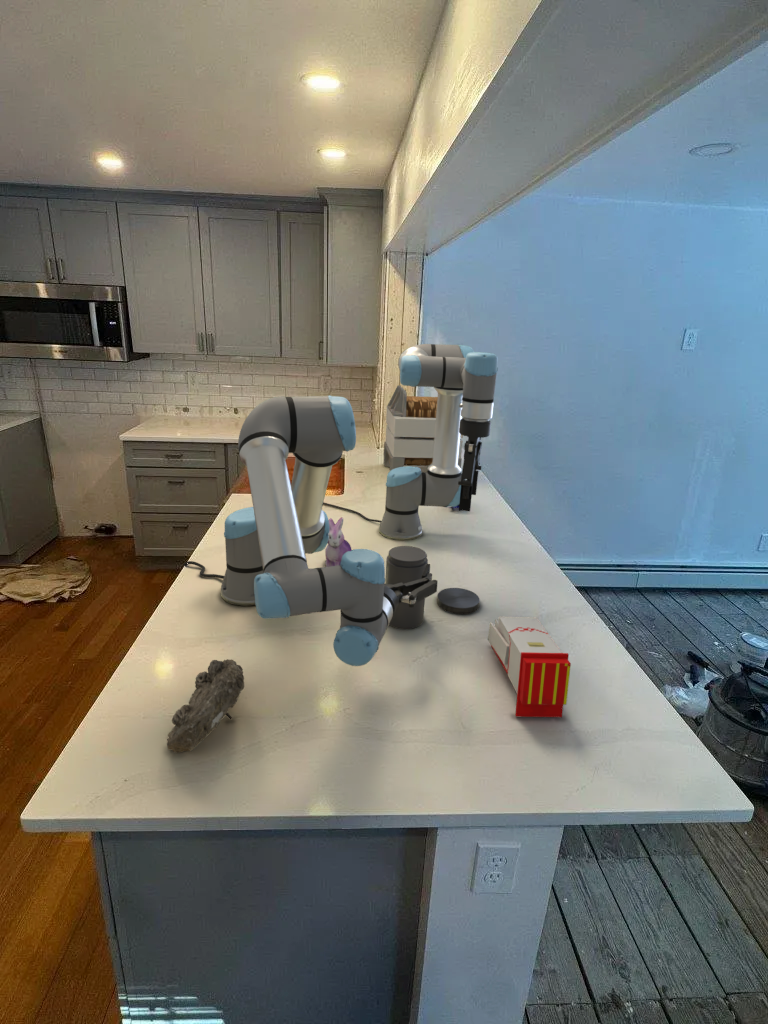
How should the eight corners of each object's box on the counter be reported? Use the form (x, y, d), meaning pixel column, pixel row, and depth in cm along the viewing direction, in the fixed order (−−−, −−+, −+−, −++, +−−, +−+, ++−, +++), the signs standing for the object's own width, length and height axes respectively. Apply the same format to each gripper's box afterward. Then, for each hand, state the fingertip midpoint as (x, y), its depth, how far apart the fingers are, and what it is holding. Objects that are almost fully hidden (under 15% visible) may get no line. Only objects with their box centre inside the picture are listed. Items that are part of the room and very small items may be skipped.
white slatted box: (382, 463, 289) (386, 382, 275) (445, 464, 293) (451, 384, 279) (390, 482, 257) (394, 392, 243) (460, 483, 261) (468, 394, 247)
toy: (534, 602, 136) (579, 659, 107) (529, 653, 139) (572, 723, 110) (484, 601, 136) (516, 658, 107) (480, 652, 139) (510, 722, 109)
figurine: (330, 573, 167) (330, 526, 162) (317, 560, 176) (317, 515, 171) (359, 568, 172) (360, 522, 167) (345, 555, 180) (346, 511, 175)
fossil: (192, 660, 117) (244, 628, 112) (224, 691, 120) (276, 661, 115) (142, 746, 98) (202, 712, 93) (182, 779, 101) (242, 748, 96)
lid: (440, 590, 161) (441, 584, 160) (481, 597, 158) (482, 591, 157) (432, 609, 150) (433, 603, 150) (476, 617, 147) (476, 611, 147)
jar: (412, 633, 139) (416, 565, 133) (376, 621, 144) (379, 555, 137) (430, 615, 147) (435, 551, 141) (395, 604, 152) (399, 541, 146)
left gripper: (315, 615, 115) (347, 571, 134) (436, 636, 110) (451, 587, 129) (315, 582, 112) (347, 542, 132) (439, 601, 107) (454, 557, 126)
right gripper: (466, 409, 149) (459, 486, 157) (453, 426, 127) (445, 515, 134) (495, 412, 148) (486, 489, 155) (487, 429, 125) (477, 520, 132)
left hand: (399, 564), depth 131 cm, fingers open, 13 cm apart
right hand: (467, 502), depth 144 cm, fingers open, 13 cm apart
